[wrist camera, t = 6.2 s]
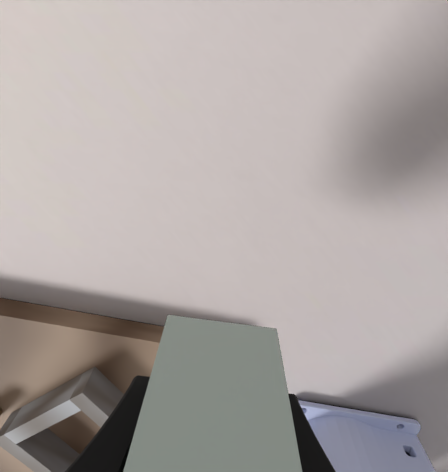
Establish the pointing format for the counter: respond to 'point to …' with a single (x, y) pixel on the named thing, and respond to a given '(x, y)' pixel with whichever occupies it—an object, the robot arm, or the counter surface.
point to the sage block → (215, 402)
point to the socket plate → (63, 380)
